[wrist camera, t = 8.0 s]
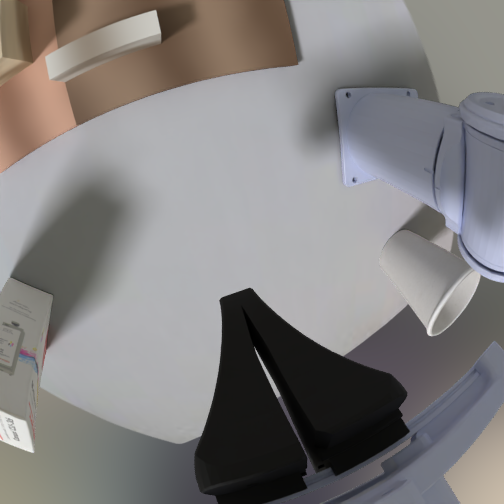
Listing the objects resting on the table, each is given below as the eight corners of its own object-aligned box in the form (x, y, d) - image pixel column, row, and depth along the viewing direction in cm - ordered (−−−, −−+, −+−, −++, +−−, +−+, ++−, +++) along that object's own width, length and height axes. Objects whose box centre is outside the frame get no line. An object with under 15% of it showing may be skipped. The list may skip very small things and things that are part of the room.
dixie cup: (399, 206, 24) (473, 257, 16) (428, 232, 28) (486, 276, 20) (357, 273, 27) (417, 337, 19) (393, 286, 31) (442, 337, 23)
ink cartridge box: (48, 352, 20) (37, 486, 8) (9, 335, 18) (-16, 464, 6) (56, 294, 18) (25, 467, 6) (9, 273, 15) (-49, 432, 3)
